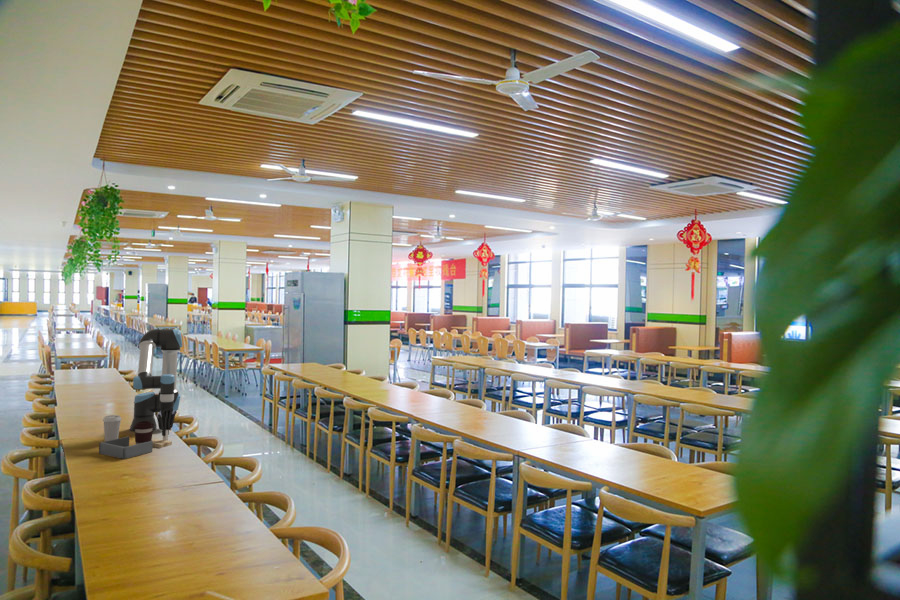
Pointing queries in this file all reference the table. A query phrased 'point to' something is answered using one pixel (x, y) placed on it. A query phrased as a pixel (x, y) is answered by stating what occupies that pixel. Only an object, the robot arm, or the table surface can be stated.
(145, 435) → the coffee cup
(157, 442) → the board
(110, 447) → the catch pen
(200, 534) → the table surface
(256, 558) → the table surface
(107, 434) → the coffee cup
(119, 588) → the table surface
